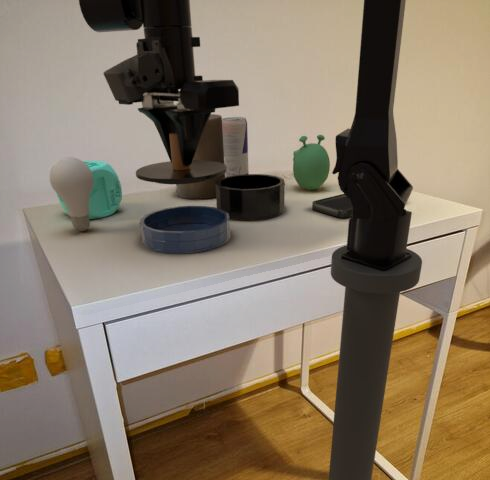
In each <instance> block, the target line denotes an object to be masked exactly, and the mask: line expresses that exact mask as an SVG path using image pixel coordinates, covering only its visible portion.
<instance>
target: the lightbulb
mask: <svg viewBox="0 0 490 480" xmlns="http://www.w3.org/2000/svg"><path fill="white" fill-rule="evenodd" d="M83 161H84V160H82V159H79V158H77V157H74V156H73V157H72V156H66V157H65V156H64V157H61V158H59V159H58V160H56V161H55V162H54V163H53V164H52V166H51V167H50V170H49V183H50V185H51V187H52V189H53V191H55V193H56V195H57V194H58V195H59V197H60V198H61V199H62V201H63V202H64V204H65V206H66V208H67V211H68V214H69V215H68V214H67V215H68V216H69V217H70V220H71V224H72V227H73V228H74V229H75V230H78V231H79V232H86V231H87V229H88V228H90V226H91V222H90V219H89V215H88V214H89V197H90V194H91V191H92V187H93V180H94V179H93V174H92V172H91V170H90V168H89V167H88V166H87V164H85V163H84V162H83Z"/></svg>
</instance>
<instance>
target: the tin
mask: <svg viewBox="0 0 490 480" xmlns="http://www.w3.org/2000/svg"><path fill="white" fill-rule="evenodd" d="M285 183H286V182H285V179H284V178H282V177H280V176H277V175H273V174H265V173H264V174H263V173H249V174H243V175H234V176H229V177H224V178H221V179H219V180H217V181H216V184H215V186H216V197H215V200H216V208H218V209H221V210H224V211H225V212H227V213H228V214H229V217H230V220H232V221H243V222H252V221H253V222H255V221H263V220H269V219H270V220H271V219H273V218H276V217H278V216H281V215H282V214H283V213H284V212H285V193H286V191H285V187H286V186H285V185H286V184H285Z"/></svg>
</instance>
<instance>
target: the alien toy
mask: <svg viewBox="0 0 490 480" xmlns="http://www.w3.org/2000/svg"><path fill="white" fill-rule="evenodd" d="M325 138H326V137H325V136H324V135H323V134H318V135H317V136H316V139H317V140H318V141H317V143H313V142H311V143H306V141H307V140H308V136H306V135H302V136H300V138H299V139H298V141H299V142H300V143H302V145H301V147H299V148H298V149H296V150H293V154H292V155H293V158H292V162H293V163H292V174H293V177H294V179H295V182H296V183H297V185H298V186H300V188H302V189H305V190H307V191H314V190H317V189H320V187H322V186H323V185H324V184H325V183H326V181H327V179H328V177H329V174H330V169H331V163H330V162H331V161H330V157H329V154H328V151H327V150H326V148H325V147H324V146H322V144H321V142H322V141H324V140H326V139H325Z"/></svg>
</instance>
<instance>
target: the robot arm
mask: <svg viewBox="0 0 490 480" xmlns="http://www.w3.org/2000/svg"><path fill="white" fill-rule="evenodd" d="M406 1H407V0H363V9H362V20H361V21H362V22H361V23H362V24H361V33H360V47H359V60H358V61H359V62H358V72H357V87H356V97H355V98H356V99H355V100H356V101H355V109H354V110H355V111H354V112H355V113H354V117H353V120H352V123H351V127H350V128H346V129H345V130H343V131H342V132H340V133H337V134H336V135H335V153H336V160H335V165H334V168H333V170H332V175H336V174H337V183H338V187H339V190H340V191H341V192H342V194H345V195H346V196H347V197H348V198H349V199H351V203H352V207H353V210H352V216H351V217H349V219H348V224H347V225H348V226H347V239H346V245H347V250H349V251H348V252H346V253H343V254H342V255H341V258H342V259H344V260H347V261H351V262H354V263H357V264H360V265H364V266H367V267H370V268H373V269H377V270H380V271H387V270H389V269H391V268H393V267H395V266H397V265H399V264H400V263H402V262H404V261H406V260H408V259H410V258H411V257H412V254H411V253H408V252H406V249H408V240H409V234H410V228H411V222H412V221H411V220H412V216H413V212H412V211H410V210H407V209H405V208H406V205H407V203H408V201H409V199H410V196H411V195H412V192H413V189H414V186H413V185H412V184H411V183H410V181H409V180H408V179H407V178H406V176H404V174H403V173H402V172H401V171H400V169H399V168H398V167H399V166H398V165H399V164H398V163H399V160H398V159H399V158H398V143H397V142H398V141H397V132H396V124H395V123H396V122H395V116H394V106H395V98H396V90H397V89H396V88H397V79H398V71H399V62H400V54H401V45H402V36H403V28H404V17H405V9H406ZM78 4H79V8H80V12H81V14H82V17H83V19H84V21H85V22H86V24H87V25H88V27H89V28H90V29H91V30H93V32H97V33H111V32H125V31H138V30H140V29H141V28H142V27H143V35H144V36H143V37H144V38H138V39H137V42H136V44H135V45H136V54H135V55H133V56H132V57H129V58H126V59H124V60H123V61H121V62H119V63H117V64H116V65H113V66H112V67H109V68H108V69H106V70H105V71H103V76H104V78H105V80H106V83H107V86H108V87H109V89H110V91H111V94H112V96H113V98H114V100H115V101H116V102H118V104H119V105H125V106H126V105H127V106H130V105H133V104H134V103H141V107H138V108H137V110H138V112H139V113H140V114H143V115H144V116H146V117H147V118H148V119H149V120H151V121H152V122H153V125H154V126H155V128H156V130H157V132H158V135H159V137H160V140H161V142H162V144H163V146H164V147H163V148H164V149H165V151H166V154H167V156H168V158H169V161H171V163H172V157H171V148H170V138H169V134H170V133H176V132H177V136H178V142H179V148H180V154H181V158H182V162H183V165H184V166H188V165H191V163H192V160H193V157H194V155H195V152H196V149H197V146H198V143H199V141H200V138H201V135H202V133H203V130H204V128H205V126H206V124H207V121H208V119H209V117H210V115H211V114H213V113H216V109H224V108H231V107H232V108H233V107H239V106H240V91H239V87H238V85H237V84H236V82H235V81H234V80H233V79H206V80H204V79H203V75H196V68H195V67H196V66H195V54H194V48H201V37H200V36H193V28H192V27H193V26H192V15H191V13H192V12H191V2H190V0H78ZM175 102H176V104H175Z"/></svg>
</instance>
